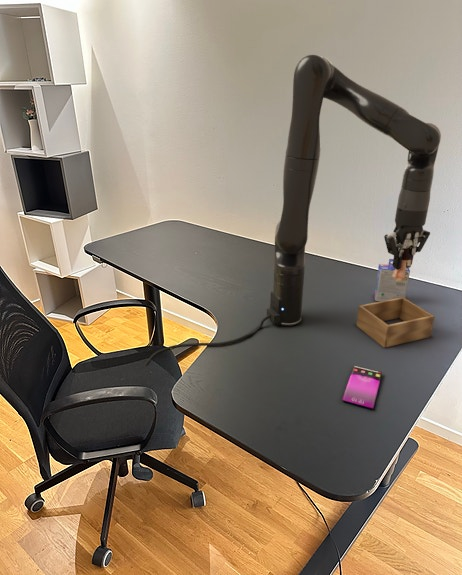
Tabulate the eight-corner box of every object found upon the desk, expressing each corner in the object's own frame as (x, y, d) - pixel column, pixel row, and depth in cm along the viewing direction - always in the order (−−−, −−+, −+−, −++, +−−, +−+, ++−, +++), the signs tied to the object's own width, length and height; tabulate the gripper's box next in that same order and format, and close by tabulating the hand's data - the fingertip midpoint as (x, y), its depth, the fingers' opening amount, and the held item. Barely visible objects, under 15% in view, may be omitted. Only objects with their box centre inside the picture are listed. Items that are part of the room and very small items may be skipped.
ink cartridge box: (402, 297, 155) (409, 258, 149) (405, 304, 150) (412, 264, 144) (373, 294, 157) (379, 257, 151) (375, 301, 152) (381, 262, 146)
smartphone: (381, 374, 114) (382, 371, 114) (372, 410, 102) (373, 407, 102) (353, 367, 117) (353, 365, 117) (341, 401, 105) (341, 398, 104)
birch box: (384, 347, 126) (387, 326, 123) (356, 325, 138) (358, 305, 135) (430, 336, 131) (434, 316, 128) (399, 316, 143) (403, 297, 140)
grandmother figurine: (385, 274, 125) (392, 232, 120) (397, 273, 126) (404, 231, 121) (401, 285, 118) (409, 241, 113) (414, 284, 119) (422, 240, 114)
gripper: (423, 200, 119) (412, 259, 126) (380, 205, 114) (371, 266, 122) (444, 207, 112) (431, 269, 120) (400, 212, 108) (389, 276, 115)
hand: (401, 267), depth 121 cm, fingers closed on grandmother figurine, 3 cm apart
